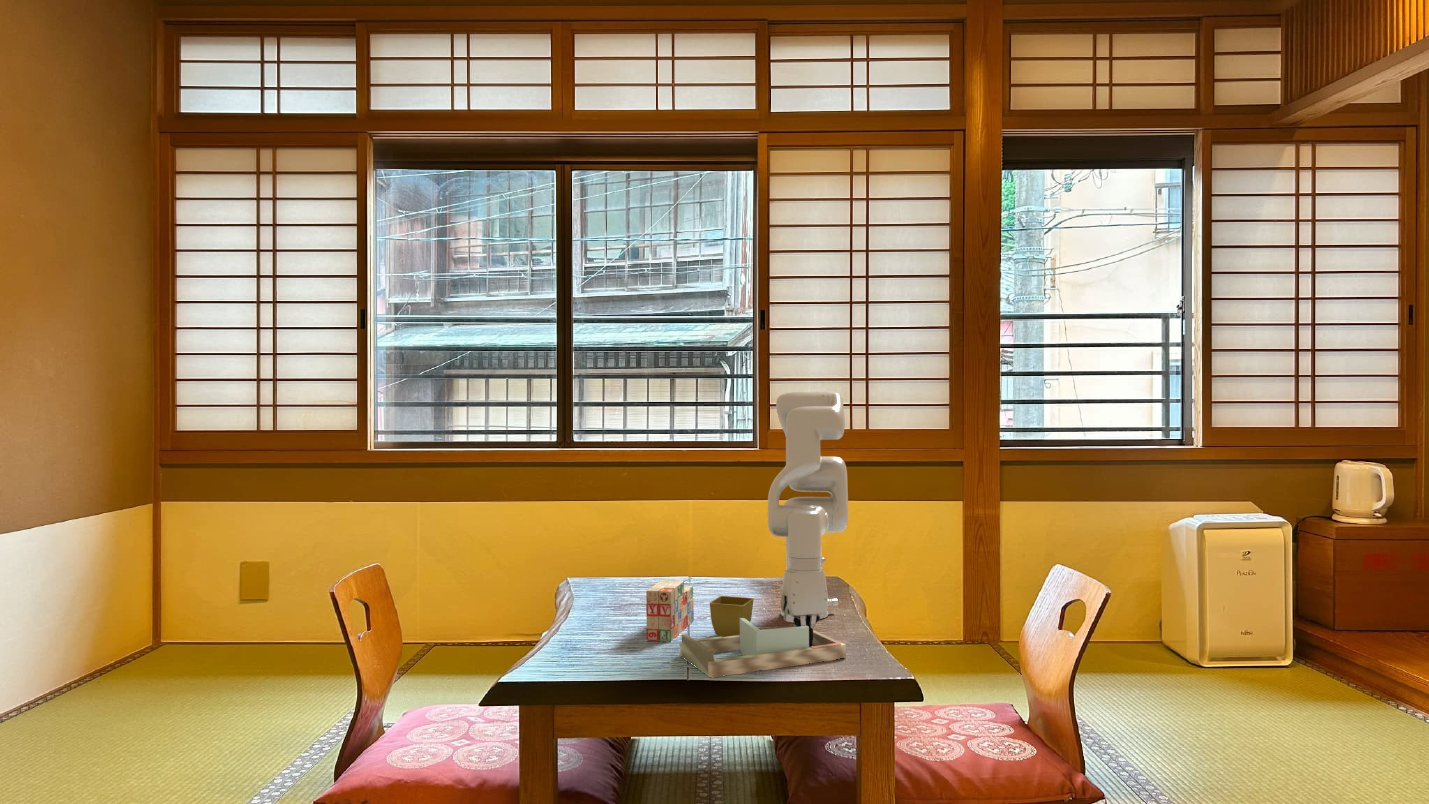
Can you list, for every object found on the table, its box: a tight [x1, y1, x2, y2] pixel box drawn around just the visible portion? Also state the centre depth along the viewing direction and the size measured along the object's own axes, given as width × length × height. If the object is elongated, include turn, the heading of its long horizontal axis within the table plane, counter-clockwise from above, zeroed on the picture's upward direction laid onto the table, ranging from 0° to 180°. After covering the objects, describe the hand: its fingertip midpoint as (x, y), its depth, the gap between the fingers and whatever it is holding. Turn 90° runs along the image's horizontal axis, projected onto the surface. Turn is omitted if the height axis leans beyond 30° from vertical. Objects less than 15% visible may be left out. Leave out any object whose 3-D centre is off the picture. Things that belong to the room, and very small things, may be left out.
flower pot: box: [709, 595, 754, 637], centre depth 200 cm, size 9×9×9 cm
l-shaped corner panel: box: [739, 618, 809, 656], centre depth 184 cm, size 12×12×8 cm
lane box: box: [679, 629, 847, 678], centre depth 183 cm, size 32×17×5 cm, turn 114°
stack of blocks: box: [645, 579, 695, 643], centre depth 208 cm, size 21×6×12 cm, turn 167°
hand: (805, 645), depth 188 cm, fingers closed
